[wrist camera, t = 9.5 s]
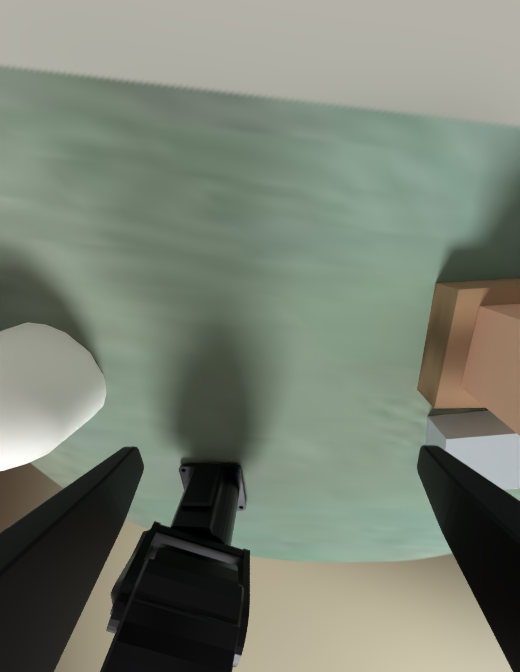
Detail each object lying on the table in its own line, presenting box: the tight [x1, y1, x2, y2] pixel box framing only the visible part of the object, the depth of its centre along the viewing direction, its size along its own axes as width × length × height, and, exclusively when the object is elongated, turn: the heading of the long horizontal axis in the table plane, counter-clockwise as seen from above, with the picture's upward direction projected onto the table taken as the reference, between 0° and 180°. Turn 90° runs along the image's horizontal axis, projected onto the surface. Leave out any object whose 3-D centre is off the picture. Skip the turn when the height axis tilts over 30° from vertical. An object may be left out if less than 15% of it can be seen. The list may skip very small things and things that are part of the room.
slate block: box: [426, 410, 520, 489], centre depth 22 cm, size 6×6×3 cm
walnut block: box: [417, 278, 520, 408], centre depth 18 cm, size 9×9×3 cm
